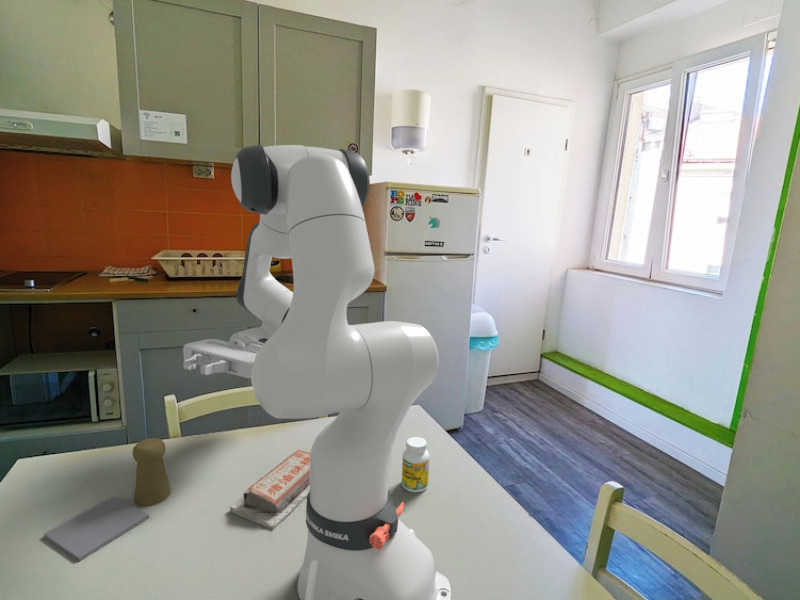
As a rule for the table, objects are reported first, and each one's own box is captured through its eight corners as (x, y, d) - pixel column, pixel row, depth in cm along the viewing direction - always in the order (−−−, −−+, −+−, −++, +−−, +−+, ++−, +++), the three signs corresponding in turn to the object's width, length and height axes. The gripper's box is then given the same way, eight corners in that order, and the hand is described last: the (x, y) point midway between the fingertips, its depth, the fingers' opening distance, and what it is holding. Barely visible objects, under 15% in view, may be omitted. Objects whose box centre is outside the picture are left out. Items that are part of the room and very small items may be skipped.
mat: (149, 517, 75) (149, 514, 75) (79, 561, 65) (79, 557, 65) (114, 498, 79) (114, 495, 79) (44, 537, 70) (43, 533, 70)
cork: (127, 497, 80) (122, 443, 78) (160, 481, 85) (157, 430, 83) (143, 511, 77) (139, 454, 74) (177, 494, 82) (174, 440, 79)
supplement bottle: (431, 481, 89) (433, 438, 87) (423, 496, 84) (425, 451, 82) (406, 474, 91) (408, 432, 89) (397, 489, 86) (399, 445, 84)
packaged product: (291, 443, 93) (331, 455, 89) (291, 463, 94) (330, 476, 90) (228, 490, 76) (273, 507, 73) (229, 514, 77) (273, 532, 74)
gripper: (214, 329, 101) (158, 343, 89) (281, 344, 92) (230, 362, 80) (215, 354, 103) (160, 372, 90) (282, 372, 94) (231, 394, 82)
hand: (194, 368), depth 85 cm, fingers open, 3 cm apart
